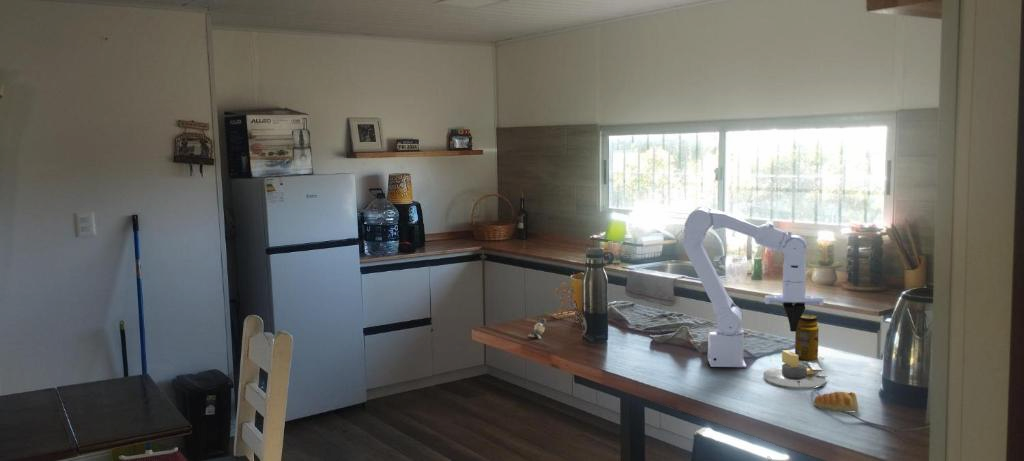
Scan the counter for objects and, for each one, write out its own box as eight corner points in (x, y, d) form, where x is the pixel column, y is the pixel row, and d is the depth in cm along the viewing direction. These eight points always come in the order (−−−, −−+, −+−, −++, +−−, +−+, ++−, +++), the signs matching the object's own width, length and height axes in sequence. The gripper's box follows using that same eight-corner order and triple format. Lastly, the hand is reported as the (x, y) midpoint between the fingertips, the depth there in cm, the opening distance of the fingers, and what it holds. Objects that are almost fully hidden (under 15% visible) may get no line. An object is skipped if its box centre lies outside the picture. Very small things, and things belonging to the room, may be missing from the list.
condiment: (824, 358, 218) (825, 316, 217) (805, 364, 214) (806, 321, 212) (802, 352, 224) (803, 312, 223) (783, 358, 220) (784, 316, 218)
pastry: (816, 412, 179) (817, 396, 178) (811, 402, 185) (811, 386, 185) (860, 413, 177) (860, 397, 177) (853, 403, 184) (853, 388, 183)
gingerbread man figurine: (573, 313, 279) (572, 280, 277) (579, 315, 275) (578, 282, 274) (551, 316, 275) (551, 283, 273) (557, 319, 271) (556, 285, 270)
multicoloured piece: (823, 376, 199) (823, 356, 198) (788, 378, 198) (789, 359, 197) (807, 366, 207) (807, 348, 206) (774, 369, 205) (774, 350, 205)
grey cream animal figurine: (538, 333, 253) (539, 315, 252) (551, 337, 250) (552, 318, 249) (527, 336, 249) (528, 318, 248) (540, 340, 246) (541, 322, 245)
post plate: (769, 388, 195) (769, 375, 194) (759, 369, 210) (759, 358, 209) (834, 389, 193) (835, 376, 192) (819, 371, 207) (820, 358, 207)
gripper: (821, 278, 209) (819, 327, 211) (764, 277, 213) (763, 325, 214) (825, 283, 203) (823, 334, 204) (766, 282, 206) (765, 332, 208)
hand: (793, 330), depth 209 cm, fingers closed
